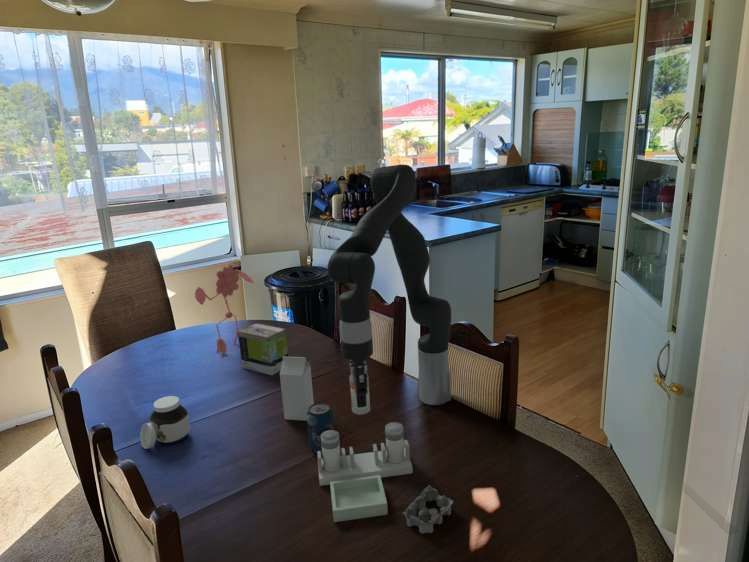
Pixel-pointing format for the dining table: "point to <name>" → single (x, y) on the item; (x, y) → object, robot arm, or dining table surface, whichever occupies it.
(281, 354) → the tea box
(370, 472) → the clip rail
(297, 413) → the milk carton
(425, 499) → the egg carton
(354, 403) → the marked fuse
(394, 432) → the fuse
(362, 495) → the tray
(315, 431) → the soda can
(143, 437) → the spread jar
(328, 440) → the cylinder
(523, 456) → the dining table surface
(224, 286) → the figurine
